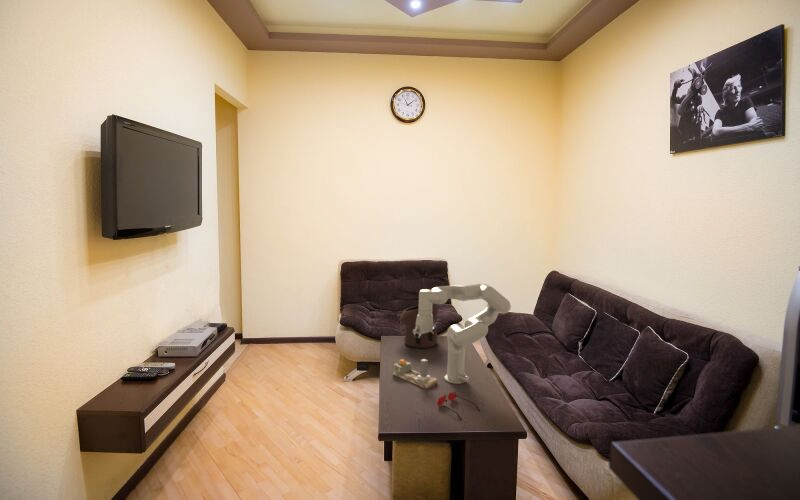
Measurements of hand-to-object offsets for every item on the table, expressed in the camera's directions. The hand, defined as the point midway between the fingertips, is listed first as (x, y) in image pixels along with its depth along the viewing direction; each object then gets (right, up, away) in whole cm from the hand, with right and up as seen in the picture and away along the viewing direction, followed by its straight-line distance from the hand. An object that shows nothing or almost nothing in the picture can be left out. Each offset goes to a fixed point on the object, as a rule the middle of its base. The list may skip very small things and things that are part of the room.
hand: (424, 342), depth 224 cm
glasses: (+15, -27, -27) cm, 41 cm away
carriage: (0, -21, +1) cm, 21 cm away
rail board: (-5, -22, +6) cm, 24 cm away
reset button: (-12, -17, +13) cm, 24 cm away
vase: (0, -16, +69) cm, 71 cm away
